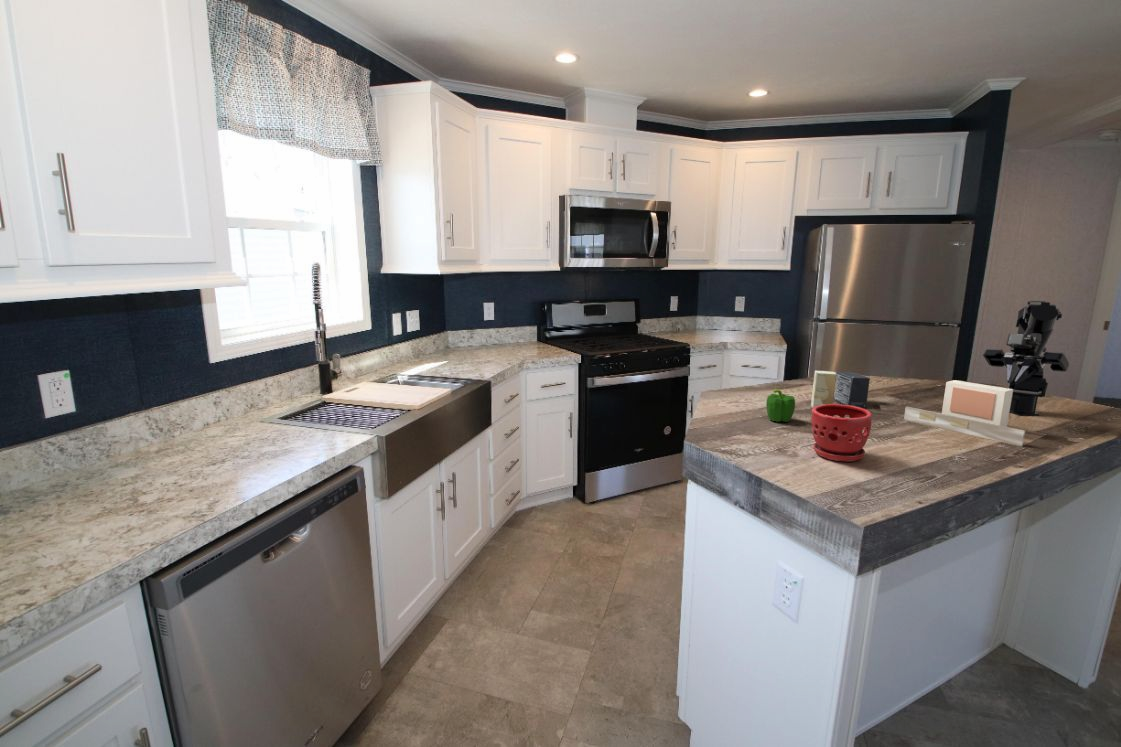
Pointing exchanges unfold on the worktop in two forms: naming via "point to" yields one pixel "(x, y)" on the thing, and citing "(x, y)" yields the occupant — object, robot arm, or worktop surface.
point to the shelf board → (972, 427)
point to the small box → (851, 389)
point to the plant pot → (840, 431)
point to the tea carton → (977, 402)
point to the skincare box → (823, 388)
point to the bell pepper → (780, 407)
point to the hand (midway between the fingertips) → (1012, 382)
